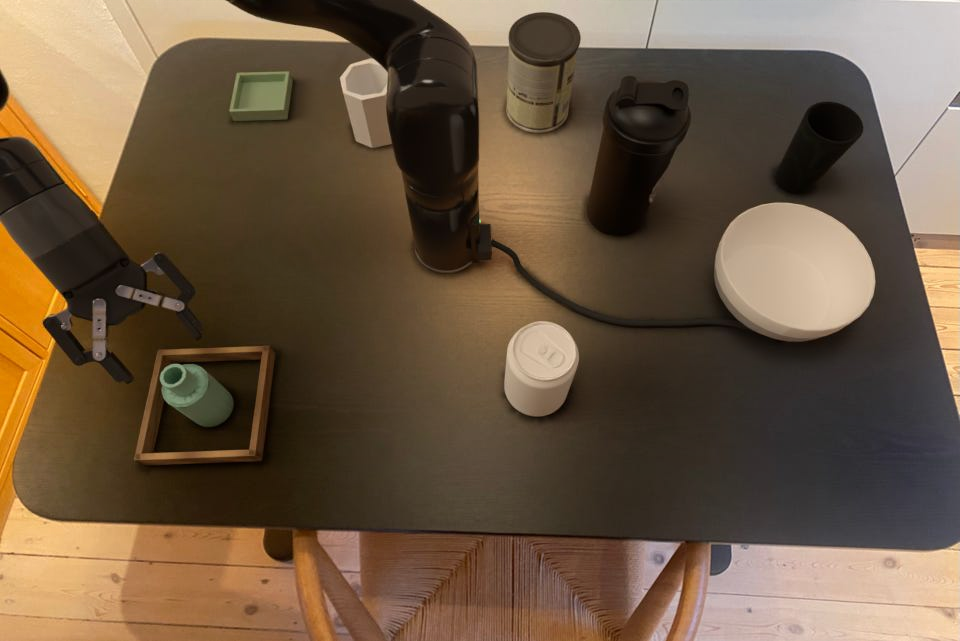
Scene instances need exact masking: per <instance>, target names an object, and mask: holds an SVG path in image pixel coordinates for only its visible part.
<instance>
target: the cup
mask: <svg viewBox="0 0 960 641" xmlns="http://www.w3.org/2000/svg"><path fill="white" fill-rule="evenodd" d="M863 134H864V123H863V120H862V119H861V117H860V115H859V114H858V113H857V112H856V111H855V110H854V109H852V108H851V107H849V106H847V105H845V104H843V103H840V102H836V101H819V102H816V103H814V104H811V105H810V106H809V107H808V108H807V109H806V110H805V113H804V114H803V117H802V119H801V121H800V123H799V125H798V127H797V129H796V131H795V132H794V135H793V137H792V139H791V141H790V143H789V145H788V147H787V149H786V150H785V153H784V154H783V157H782V158H781V161H780V163H779V165H778V167H777V169H776V171H775V174H774V180H775V183H776V185H777V186H778V188H780V189H781V190H782V191H784V192H786V193H789V194H791V195H803V194H806V193H808V192H809V191H810V190H811V189H812V188H813V187H814V186H815V185H816V184H817V183H818V182H819V181H820V180H821V179H822V177H823V176H825V175H826V174H827V173H828V172H829V171H830V170H831V168H832V167H833V166H834V165H835V164H836V163H837V162H838V161H839V160H840V159H841V158H842V157H843V156H844V154H846V152H847V151H848V150H849V149H850V148H851V147H852V146H853V145H854V144H855V143H856V142H857V141H859V139H860V138H861V137H862V135H863Z"/></svg>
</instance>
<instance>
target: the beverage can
mask: <svg viewBox="0 0 960 641" xmlns="http://www.w3.org/2000/svg"><path fill="white" fill-rule="evenodd" d="M579 361H580V353H579V349H578V345H577V342H576V341H575V339H574V338H573V336H572V335H571V334H570V332H569V331H568V330H567V329H565V328H564V327H563V326H561V325H559V324H558V323H555V322H552V321H548V320H547V321H546V320H539V321H538V320H537V321H534V322H530V323H528V324H526V325H524V326H522V327H520V329H519V330H517V331H516V332H515V333H514V334H513V336H512V337H511V338H510V340H509V343H508V345H507V350H506V359H505V370H504V381H503V383H504V384H503V388H504V393H505V397H506V398H507V400H508V402H509V404H510V405H511V406H512V407H513V408H514V409H515V410H517V411H518V412H520V413H521V414H524V415H526V416H530V417H545V416H549V415H551V414H553V413H555V412H556V411H557V410H559V409H560V408H561V407H562V405H563V404H564V403H565V401H566V399H567V397H568V394H569V391H570V388H571V386H572V384H573V380H574V378H575V375H576V372H577V369H578V366H579Z"/></svg>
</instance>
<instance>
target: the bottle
mask: <svg viewBox="0 0 960 641" xmlns="http://www.w3.org/2000/svg"><path fill="white" fill-rule="evenodd" d="M160 381H161V384H162V395H163V398H164V402H166V403H167V404H168V405H169V406H170V407H172V408H174V409H175V410H176V411H178V412H179V413H181V414H182V415H184V416H185V417H187V418H188V419H189V420H191V421H193V422H194V423H195V424H197V425H199V426H201V427H204V428H213V427H217V426H220V425H221V424H223V423H224V422H225V421H227V419H229V417H230V416H231V414H232V412H233V409H234V398H233V395H232V394H231V393H230V392H229V391H228V390H227V388H225V387H224V386H223V385H222V384H221V383H220V382H219V381H217V379H215V378H214V377H213V376H212V375H211V374H210V373H209V372H208V371H206V370H205V369H204V368H203V367H202V366H200V365H198V364H195V363H185V364H180V363H172V364H171V365H169V366H167V367H165V369H164V370H163V371H162V372H161V375H160Z"/></svg>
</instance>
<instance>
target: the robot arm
mask: <svg viewBox="0 0 960 641" xmlns="http://www.w3.org/2000/svg"><path fill="white" fill-rule="evenodd" d="M225 1H226V2H228V3H229V4H231V5H232V6H234V7H236V8H237V9H239V10H241V11H243V12H244V13H246V14H249V15H251V16H254V17H256V18H258V19H261V20H265V21H269V22H274V23H279V24H284V25H292V26H297V27H298V26H299V27H304V28H305V27H306V28H312V29H317V30H322V31H325V32H329V33H332V34H334V35H336V36H339V37H341V38H342V39H344V40H345V41H347V42H349V43H350V44H352V45H354V46H355V47H356V48H358V49H359V50H361V51H362V52H364V53H365V54H366V55H368V56H369V57H370V58H372V59H374V60H375V61H377V62H378V63H379V64H380V65H381V66H382V67H383V68H384V69H385V70H386V71H387V73H388V77H387V94H386V114H387V121H388V127H389V132H390V137H391V141H392V144H391V146H392V150H393V154H394V160H395V163H396V165H397V167H398V169H399V170H400V171H401V177H402V183H403V189H404V194H405V201H406V204H407V205H406V206H407V211H408V217H409V222H410V228H411V233H412V238H413V247H414V253H415V256H416V258H417V260H418V262H419V264H420V263H421V265H422V266H423V267H424V268H426V269H428V270H430V271H431V272H434V273H437V274H443V275H445V274H446V275H448V274H449V275H450V274H451V275H452V274H455V273H459V272H461V271H464V270H466V269H468V268H469V267H470V266H472V265H474V264H479V263H481V262H482V261H483V262H484V261H492V260H493V248H494V249H496V250H499V251H501V252H503V253H504V254H506V255H507V256H508V257H509V258H510V259H511V260H512V262H513V265H514V267H515V268H516V270H517V272H518V273H519V274H520V275H521V277H523V279H525V280H526V281H527V282H529V284H530V285H531V286H532V287H534V288H536V290H538V291H540V292H541V293H542V294H545V295H546V296H548V297H549V298H551V299H553V300H554V301H556V302H558V303H560V304H562V305H563V306H565V307H567V308H569V309H571V310H573V311H574V312H577V313H578V314H581V315H584V316H585V317H589V318H591V319H593V320H597V321H600V322H604V323H608V324H612V325H618V326H624V327H687V326H688V327H690V326H709V325H710V326H724V327H731V328H738V329H742V330H746V331H749V332H753V333H756V332H755V331H753V330H752V329H750V328H748V327H746V326H745V325H744V324H742V323H741V322H740V321H739V320H737V319H736V320H735V319H728V318H719V317H717V318H715V317H701V318H699V317H698V318H685V319H683V318H681V319H629V318H621V317H616V316H611V315H606V314H603V313H599V312H596V311H594V310H591V309H588V308H586V307H584V306H581V305H579V304H578V303H575V302H573V301H571V300H570V299H568V298H566V297H564V296H562V295H561V294H559V293H557V292H555V291H554V290H552V289H550V288H549V287H547V286H545V285H544V284H542V283H541V282H540V281H538V280H537V279H536V278H535V277H534V276H532V275H531V274H530V273H529V271H528V270H526V268H524V266H523V265H522V263H521V260H520V257H519V255H518V254H517V253H516V252H515V250H513V249H512V248H511V247H510V246H507V245H506V244H503V243H501V242H499V241H498V240H496V239H492V224H491V223H481V219H480V195H479V194H480V191H479V188H480V186H479V184H480V183H479V182H480V181H479V179H480V178H479V176H480V174H479V165H480V164H479V162H480V107H479V106H480V105H479V84H478V83H479V81H478V66H477V65H478V64H477V59H476V56H475V52H474V51H473V48H472V46H471V44H470V42H469V41H468V40H467V39H466V37H465V36H464V35H463V34H462V32H460V31H459V30H458V29H457V28H455V27H454V26H453V25H452V24H450V23H448V22H447V21H446V20H444V19H443V18H442V17H440V16H438V15H437V14H436V13H434V12H432V11H431V10H430V9H428V8H427V7H424V5H421V3H419V2H418V1H416V0H225ZM9 99H10V86H9V83H8V81H7V78H6V76H5V75H4V73H3V71H2V69H1V68H0V112H2V111H3V110H4V108H6V105H7V104H8V101H9ZM0 223H1V224H2V226H3V228H4V229H5V230H6V232H7V234H8V235H9V236H10V238H11V239H12V241H13V242H14V243H15V244H16V245H17V246H18V247H19V249H20V250H21V251H22V252H23V253H24V254H25V255H26V257H28V259H29V260H30V261H31V262H32V263H33V265H35V266H36V269H38V271H40V272H41V274H43V276H44V277H45V278H46V280H48V281H49V282H50V284H51V285H52V286H53V288H54V289H55V290H57V292H58V293H59V294H60V295H61V297H62V298H63V299H64V301H65V302H66V305H67V307H65V308H64V309H62V310H60V311H57V312H56V313H50V314H48V315H47V316H46V317H45V318H44V319H43V320H42V323H41V324H42V326H43V328H44V329H45V330H46V331H47V332H48V334H49V335H50V337H51V338H52V339H53V340H54V341H55V343H56V344H57V345H58V346H59V348H60V349H61V350H62V351H63V352H64V353H65V355H66V356H67V358H69V360H70V361H71V362H72V364H73V365H75V366H77V367H81V366H83V365H86V364H89V363H93V362H95V363H97V364H99V365H100V366H101V367H102V368H103V369H104V370H105V371H106V372H107V373H108V374H109V376H110V377H111V378H112V379H113V380H114V381H115V382H117V383H119V384H121V383H122V382H124V383H125V384H126V385H129V384H131V383H132V382H134V380H135V377H134V375H133V374H132V372H131V371H130V370H129V368H127V366H126V365H125V364H124V363H123V362H122V360H121V359H120V358H119V357H118V356H117V355H116V354H115V353H114V352H113V351H111V352H110V351H109V331H110V327H112V326H119V325H120V324H122V323H123V322H124V321H125V320H126V319H127V318H128V317H129V316H132V315H135V314H138V313H139V312H141V311H143V310H144V308H145V307H146V305H147V304H148V305H151V306H155V307H160V308H165V309H168V310H172V311H175V315H176V317H177V318H178V320H179V321H180V322H181V323H182V324H183V326H184V327H185V328H186V329H187V331H188V332H189V334H191V336H192V337H193V338H194V339H195V340H196V341H198V340H200V339H201V338H203V335H202V332H203V326H202V323H201V322H200V321H199V319H198V318H197V317H196V315H195V314H194V313H193V312H192V310H191V309H190V307H189V306H188V305H189V303H190V302H191V300H192V299H193V298H194V297H195V296H196V294H197V293H196V289H195V287H194V286H193V284H192V283H191V282H190V281H189V279H187V278H186V276H185V275H184V273H183V272H181V271H180V269H179V268H178V267H177V266H176V265H175V263H173V261H171V259H170V258H169V257H168V256H167V254H166V253H164V252H163V251H157V252H156V253H154V254H153V256H152V257H150V258H149V259H148V260H145V261H144V262H143V263H141V264H139V263H137V262H135V261H133V259H131V257H130V256H129V255H128V254H127V252H126V251H125V250H124V249H123V247H122V246H121V245H120V244H119V243H118V241H117V240H116V239H115V238H114V237H113V235H112V234H111V232H110V231H109V230H108V229H107V227H106V226H105V225H104V224H103V222H101V220H100V218H99V216H98V215H97V214H96V212H95V211H94V210H92V209H91V207H89V205H88V204H87V203H86V202H85V201H84V199H83V198H82V197H81V196H79V194H77V193H76V192H75V191H74V189H72V188H71V186H70V185H69V184H67V183H66V180H65V179H64V178H63V177H62V176H61V174H60V173H59V171H58V170H57V169H56V168H55V166H53V164H52V163H51V162H50V161H49V160H48V158H47V157H46V156H45V155H44V153H43V152H42V150H40V149H39V147H38V146H37V145H36V144H35V143H34V142H33V141H32V140H30V139H28V138H27V137H24V136H6V137H0ZM148 272H153V273H155V275H158V276H162V275H164V274H165V275H166V277H167V278H168V279H169V280H170V281H171V283H173V284H174V286H176V287H177V289H178V290H179V291H180V292H179V293H178V295H177V296H174V295H171V294H169V293H168V294H167V293H165V292H163V291H159V290H157V289H153V288H149V287H148ZM72 317H75V318H79V319H82V320H85V321H88V322H92V337H91V338H92V347H91V348H87V349H85V347H84V346H83V345H82V344H81V342H80V341H79V339H77V337H76V336H75V335H74V334H73V332H72V331H71V329H72V327H73V325H74V324H73V322H72Z"/></svg>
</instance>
